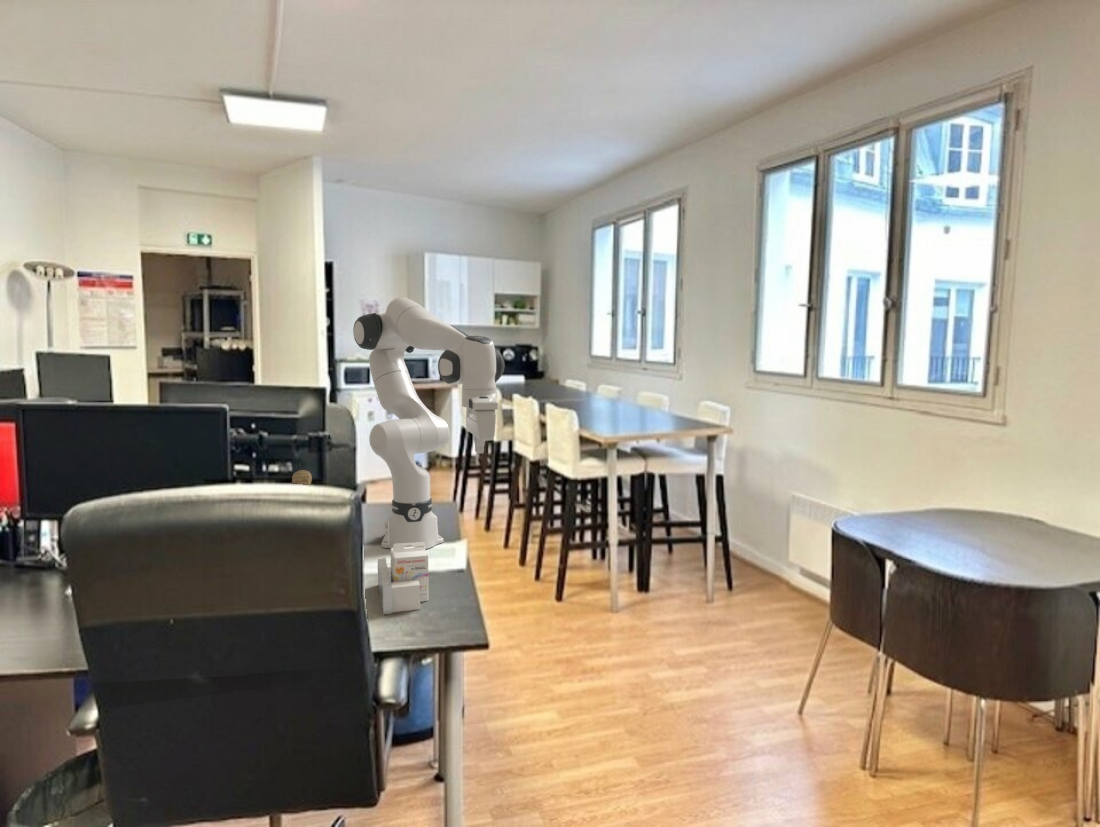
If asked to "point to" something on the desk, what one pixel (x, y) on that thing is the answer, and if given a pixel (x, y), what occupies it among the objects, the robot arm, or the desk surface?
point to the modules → (405, 594)
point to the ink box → (411, 565)
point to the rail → (385, 586)
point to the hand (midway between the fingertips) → (479, 452)
